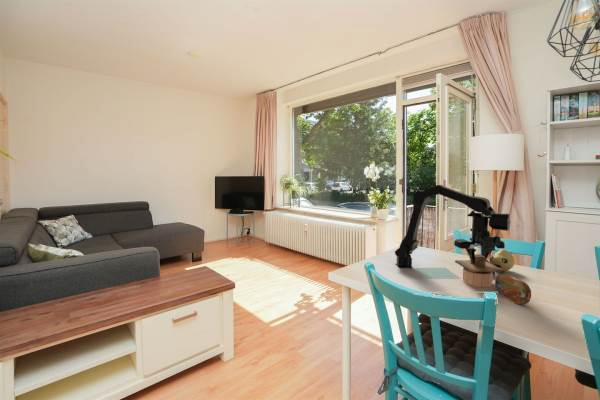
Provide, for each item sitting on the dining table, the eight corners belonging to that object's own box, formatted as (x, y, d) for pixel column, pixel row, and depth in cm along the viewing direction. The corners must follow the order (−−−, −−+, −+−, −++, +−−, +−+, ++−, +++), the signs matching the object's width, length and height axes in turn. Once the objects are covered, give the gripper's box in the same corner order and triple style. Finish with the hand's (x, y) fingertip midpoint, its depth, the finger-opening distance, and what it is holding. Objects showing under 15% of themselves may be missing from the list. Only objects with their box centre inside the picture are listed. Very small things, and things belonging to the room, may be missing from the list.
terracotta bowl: (471, 288, 127) (472, 274, 126) (457, 278, 138) (458, 265, 137) (497, 288, 127) (498, 274, 126) (482, 278, 138) (482, 265, 137)
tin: (493, 291, 124) (495, 271, 123) (501, 291, 124) (502, 270, 123) (523, 308, 109) (525, 285, 108) (532, 307, 109) (533, 285, 108)
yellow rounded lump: (484, 271, 147) (485, 249, 146) (493, 266, 155) (494, 245, 154) (508, 276, 140) (509, 254, 139) (516, 271, 148) (517, 249, 146)
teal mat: (427, 279, 137) (427, 278, 137) (414, 268, 152) (415, 267, 152) (461, 279, 137) (461, 278, 137) (445, 268, 152) (445, 267, 152)
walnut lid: (471, 271, 125) (471, 260, 125) (455, 262, 138) (455, 251, 138) (502, 271, 125) (503, 260, 125) (483, 261, 138) (484, 251, 138)
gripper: (468, 231, 122) (466, 269, 124) (515, 231, 122) (512, 269, 124) (454, 226, 133) (452, 261, 135) (497, 226, 133) (495, 261, 135)
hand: (477, 263), depth 132 cm, fingers closed on walnut lid, 4 cm apart
